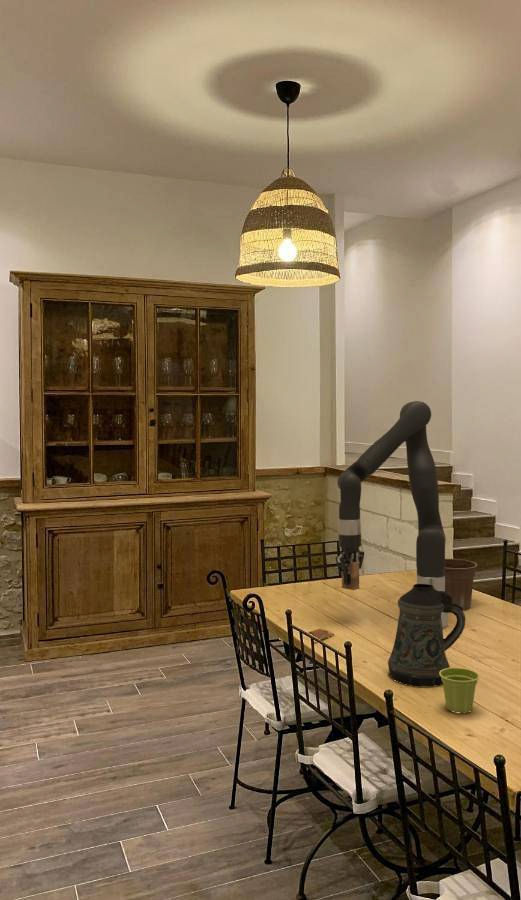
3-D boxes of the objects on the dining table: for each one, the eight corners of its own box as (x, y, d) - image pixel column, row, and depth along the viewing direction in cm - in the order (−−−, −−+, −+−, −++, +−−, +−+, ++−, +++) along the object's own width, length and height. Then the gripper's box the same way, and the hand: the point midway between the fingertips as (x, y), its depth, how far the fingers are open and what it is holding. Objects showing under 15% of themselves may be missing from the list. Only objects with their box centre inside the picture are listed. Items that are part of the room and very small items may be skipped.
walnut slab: (359, 588, 245) (359, 561, 245) (354, 590, 243) (353, 563, 242) (347, 586, 249) (346, 559, 248) (341, 588, 246) (341, 561, 246)
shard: (314, 645, 228) (314, 640, 228) (295, 640, 233) (295, 635, 233) (335, 637, 236) (335, 631, 236) (316, 632, 241) (316, 627, 241)
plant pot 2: (436, 714, 175) (436, 678, 175) (441, 699, 184) (441, 665, 184) (477, 719, 172) (477, 683, 172) (480, 704, 181) (480, 669, 180)
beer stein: (376, 670, 205) (376, 581, 203) (435, 661, 212) (435, 575, 210) (409, 691, 189) (410, 595, 188) (471, 680, 196) (472, 588, 195)
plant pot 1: (475, 614, 260) (476, 569, 259) (428, 610, 265) (429, 566, 264) (477, 602, 275) (478, 560, 274) (433, 599, 280) (433, 557, 279)
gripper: (346, 536, 237) (347, 589, 238) (371, 530, 247) (371, 581, 248) (327, 534, 242) (328, 586, 243) (352, 528, 252) (353, 578, 253)
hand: (350, 583), depth 246 cm, fingers closed on walnut slab, 3 cm apart
